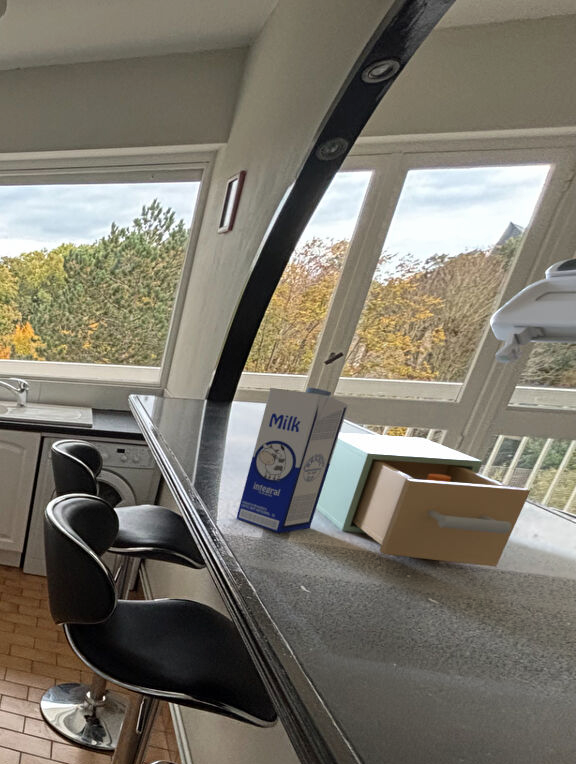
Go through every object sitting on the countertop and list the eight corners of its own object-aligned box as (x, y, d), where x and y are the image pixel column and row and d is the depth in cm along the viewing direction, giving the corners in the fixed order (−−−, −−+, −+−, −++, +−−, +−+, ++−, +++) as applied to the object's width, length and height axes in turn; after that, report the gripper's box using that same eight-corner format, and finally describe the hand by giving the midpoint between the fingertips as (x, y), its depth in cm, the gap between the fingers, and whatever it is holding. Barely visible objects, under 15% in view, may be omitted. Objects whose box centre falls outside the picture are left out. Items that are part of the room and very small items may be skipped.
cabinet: (449, 542, 82) (483, 461, 78) (341, 530, 86) (367, 453, 82) (397, 508, 96) (423, 438, 91) (306, 500, 100) (326, 432, 95)
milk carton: (234, 518, 91) (269, 385, 84) (265, 513, 93) (301, 384, 86) (279, 533, 85) (321, 392, 77) (311, 528, 87) (354, 390, 80)
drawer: (518, 580, 69) (556, 501, 65) (398, 566, 72) (428, 490, 68) (434, 527, 85) (460, 461, 81) (339, 518, 88) (361, 454, 85)
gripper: (787, 297, 63) (668, 391, 65) (552, 299, 82) (466, 372, 84) (779, 250, 61) (656, 349, 63) (539, 263, 80) (451, 339, 82)
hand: (546, 362), depth 74 cm, fingers open, 8 cm apart
